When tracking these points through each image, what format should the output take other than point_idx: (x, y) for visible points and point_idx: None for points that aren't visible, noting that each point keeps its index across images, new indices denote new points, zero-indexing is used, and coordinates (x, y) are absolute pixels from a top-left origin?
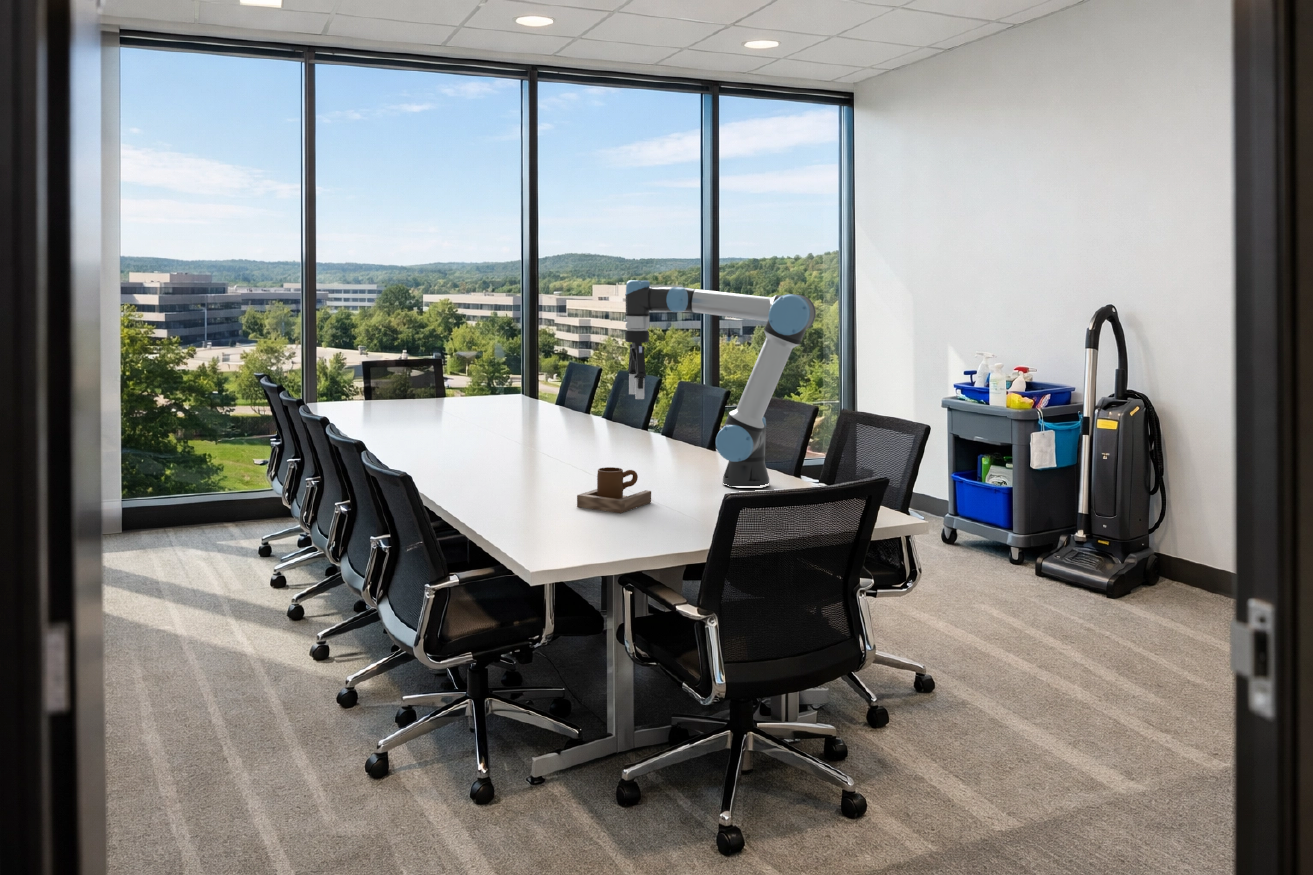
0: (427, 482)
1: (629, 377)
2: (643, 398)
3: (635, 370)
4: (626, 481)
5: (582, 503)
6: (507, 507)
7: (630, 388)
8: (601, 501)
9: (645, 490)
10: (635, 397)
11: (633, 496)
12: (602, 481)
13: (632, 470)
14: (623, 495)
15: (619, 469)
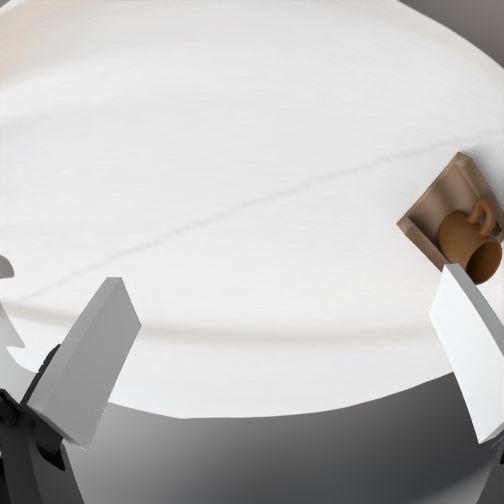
0: (247, 416)
1: (95, 428)
2: (458, 271)
3: (41, 457)
4: (479, 218)
5: None
6: (415, 352)
7: (123, 351)
8: None
9: (464, 168)
10: (434, 322)
11: (496, 203)
12: (481, 266)
13: (495, 217)
14: (422, 200)
15: (481, 243)
